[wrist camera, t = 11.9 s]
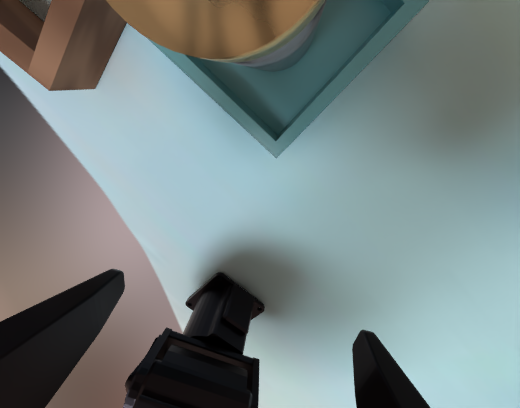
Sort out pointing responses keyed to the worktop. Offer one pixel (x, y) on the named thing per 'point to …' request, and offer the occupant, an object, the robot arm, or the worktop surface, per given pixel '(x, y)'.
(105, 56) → the brown square frame
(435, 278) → the worktop surface
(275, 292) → the worktop surface
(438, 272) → the worktop surface
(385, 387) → the robot arm
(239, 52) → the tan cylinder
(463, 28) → the worktop surface
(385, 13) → the teal tray
